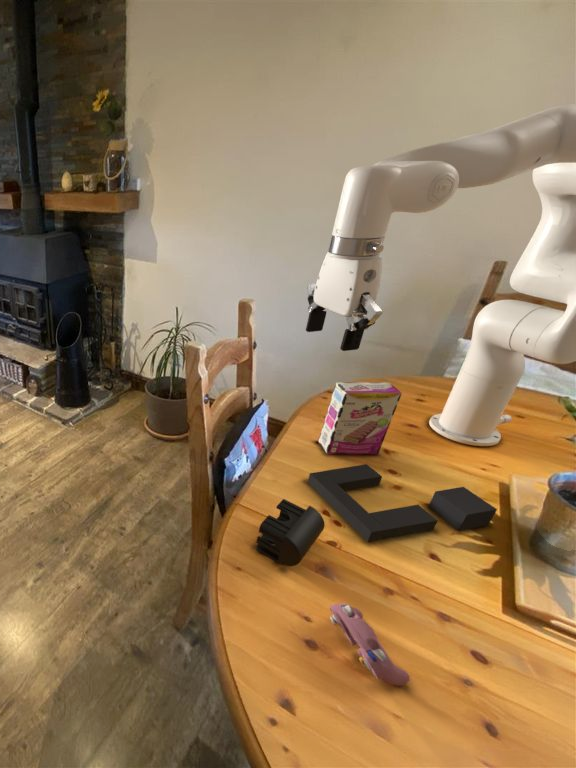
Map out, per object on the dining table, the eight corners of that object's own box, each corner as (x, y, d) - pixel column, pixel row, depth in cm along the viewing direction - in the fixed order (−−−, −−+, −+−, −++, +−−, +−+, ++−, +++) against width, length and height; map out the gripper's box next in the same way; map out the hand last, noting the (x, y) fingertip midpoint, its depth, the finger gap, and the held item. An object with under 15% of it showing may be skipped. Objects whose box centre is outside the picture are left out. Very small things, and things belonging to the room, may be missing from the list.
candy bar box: (327, 455, 94) (345, 392, 86) (317, 442, 98) (334, 381, 91) (380, 456, 93) (403, 392, 85) (368, 442, 97) (389, 381, 90)
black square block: (455, 502, 80) (463, 486, 78) (488, 525, 74) (497, 509, 73) (427, 507, 79) (435, 491, 77) (458, 531, 74) (467, 514, 72)
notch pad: (363, 473, 88) (366, 463, 87) (433, 530, 74) (438, 520, 73) (307, 482, 87) (309, 473, 86) (367, 542, 73) (371, 532, 72)
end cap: (295, 576, 68) (304, 547, 65) (253, 550, 73) (259, 523, 70) (319, 542, 74) (328, 514, 70) (279, 520, 78) (286, 493, 75)
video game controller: (330, 624, 62) (319, 600, 59) (359, 612, 62) (350, 587, 58) (379, 698, 54) (370, 675, 50) (415, 685, 53) (407, 661, 50)
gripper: (419, 254, 63) (385, 355, 71) (339, 237, 79) (318, 323, 87) (373, 258, 63) (344, 360, 71) (302, 240, 78) (284, 326, 86)
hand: (330, 339), depth 79 cm, fingers open, 9 cm apart
